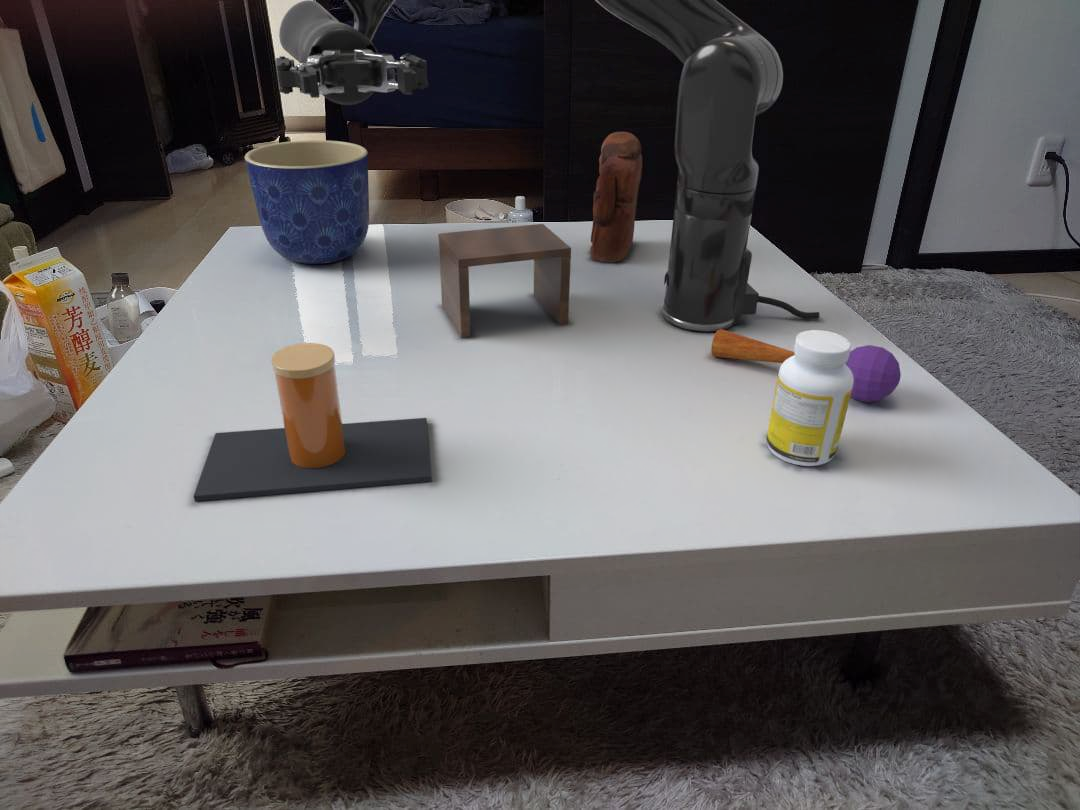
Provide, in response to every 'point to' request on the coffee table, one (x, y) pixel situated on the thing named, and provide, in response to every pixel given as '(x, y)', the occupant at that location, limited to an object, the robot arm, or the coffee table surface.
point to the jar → (310, 404)
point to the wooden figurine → (616, 197)
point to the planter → (311, 198)
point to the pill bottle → (811, 399)
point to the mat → (267, 469)
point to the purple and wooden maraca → (867, 363)
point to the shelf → (504, 248)
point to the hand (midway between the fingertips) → (362, 83)
